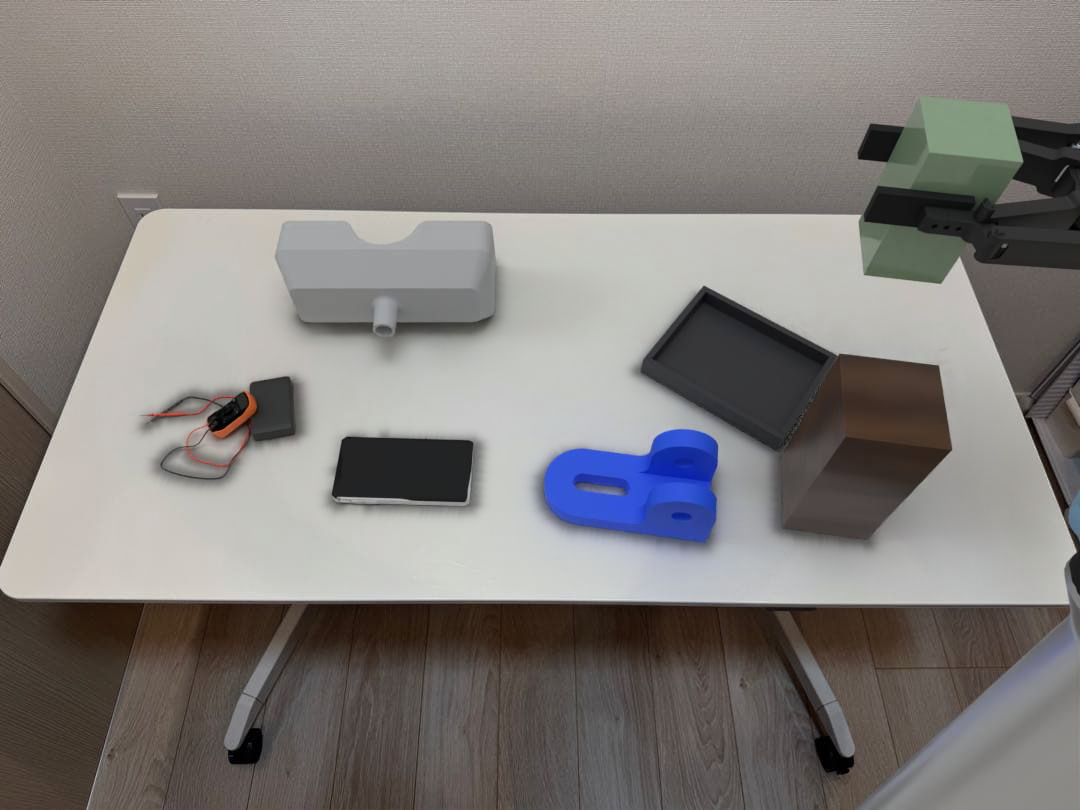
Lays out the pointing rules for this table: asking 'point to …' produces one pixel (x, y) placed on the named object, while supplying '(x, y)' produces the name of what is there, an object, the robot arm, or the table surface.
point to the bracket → (640, 487)
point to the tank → (389, 273)
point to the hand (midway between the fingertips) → (867, 171)
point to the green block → (940, 181)
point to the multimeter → (249, 414)
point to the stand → (863, 445)
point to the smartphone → (404, 471)
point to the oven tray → (739, 366)
